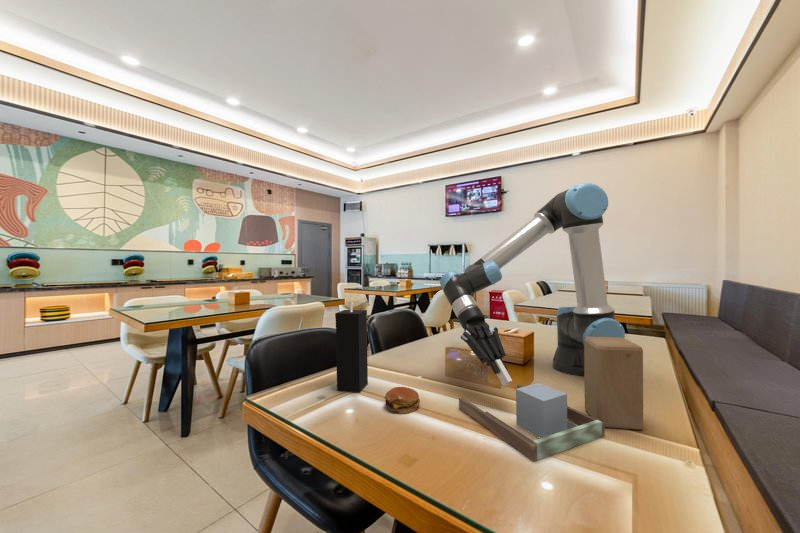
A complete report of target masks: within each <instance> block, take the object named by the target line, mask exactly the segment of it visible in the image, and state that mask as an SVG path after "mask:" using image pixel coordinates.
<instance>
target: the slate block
mask: <svg viewBox="0 0 800 533" xmlns="http://www.w3.org/2000/svg"><path fill="white" fill-rule="evenodd" d="M515 399H516V400H515V411H516V412H515V416H516V418H515V419H516V420H515V422H516V426H517V427H519V428H521V429H522V430H524V429H525V431H526V430H527V431H526V432H528V431H529V432H528V433H530V432H531V433H533V434H534V435H533V434H532V435H533V436H535V435H536V436H535V437H537V436H538V437H540V438H543V437H546V436H549V435H552V434H555V433H559V432H562V431H565V430H567V421H568V420H567V406H568V394H567V393H566V392H563V391H560V390H558V389H555V388H553V387H550V386H548V385H545V384H542V383H540V382H537V383H533V384H529V385H525V387H521V388H518V389H517V388H515ZM531 433H530V434H531ZM538 437H537V438H538ZM540 438H539V439H540Z"/></svg>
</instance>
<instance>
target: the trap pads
mask: <svg viewBox="0 0 800 533" xmlns="http://www.w3.org/2000/svg"><path fill="white" fill-rule="evenodd" d="M485 412H486V413H487V414H489V415H490V416H492V417H493V418H495V419H496V420H498V421H500V422H501V423H503V424H504V425H506V426H507V427H509V428H510V429H512V430H514V431H515V432H517V433H518V434H520V435H521V436H523V437H524V438H526V439H528V440H529V441H531V442H532V443H533V441H534V440H532V439H531V438H530V437H528V436H526V435H525V434H523V433H521V432H520V431H518V430H517V429H515V428H514V427H513V426H510V425H509V424H507V423H505V422H504V421H503V420H502V419H499V418H498V417H497V416H494V415H493V414H492V413H490V412H488V411H485ZM577 426H578V425H577V424H575V423H573V422H571V421H569V420H567V430H568V429H571V428H574V427H577Z"/></svg>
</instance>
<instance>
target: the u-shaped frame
mask: <svg viewBox="0 0 800 533" xmlns="http://www.w3.org/2000/svg"><path fill="white" fill-rule="evenodd" d="M525 386H526V385H525ZM525 386H524V385H522V384H517V385H516V389H518V388H521V387H525ZM458 409H459V411H461V412H463V414H466V415H467V416H468V417H470V418H471V419H473V420H475V421H476V422H477V423H478V424H480V425H481V426H482V427H484V428H485V429H487V430H488V431H489V432H491V433H492V434H494V435H496V436H497V437H498V438H500V439H501V440H502V441H504V442H505V443H507V444H508V445H510V446H511V447H512V448H513V449H515V450H516V451H518V452H520V453H521V454H522V455H523V456H525V457H527V458H528V459H529V460H530V461H532V462H537V461H539V460H542V459H545V458H548V457H551V456H554V455H556V454H558V453H562V452H563V451H567V450H569V449H572V448H575V447H578V446H580V445H581V446H582V445H583V444H586V443H589V442H592V441H594V440H595V441H596V440H597V439H601V438H603V437H606V436H605V435H606V433H605V431H606V427H605V423H604V422H602V421H599V420H597V419H595V418H593V417H591V416H590V415H588V414H586V413H584V412H581V411H579V410H577V409H575V408H572V407H571V406H568V405H567V419H568V420H567V421H568V422H570V423H572V424H574V425H576V426H577V427H574V428H571V429H568V430H565V431H562V432H559V433H555V434H552V435H549V436H546V437H543V438H538V439H534V440H533V443H532V442H531V441H529V440H528V439H526V438H524V437H523V436H521V435H520V434H518V433H517V432H515V431H514V430H512V429H510V428H509V427H507V426H506V425H504V424H503V423H501V422H500V421H498V420H496V419H495V418H493V417H492V416H490V415H489V414H487V413H486V412H487V411H484V410H483V409H481V408H479V407H478V406H476V405H475V404H473V403H471V402H470V401H469V400H467V399H465V398H464V397H458ZM550 455H551V456H550Z"/></svg>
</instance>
